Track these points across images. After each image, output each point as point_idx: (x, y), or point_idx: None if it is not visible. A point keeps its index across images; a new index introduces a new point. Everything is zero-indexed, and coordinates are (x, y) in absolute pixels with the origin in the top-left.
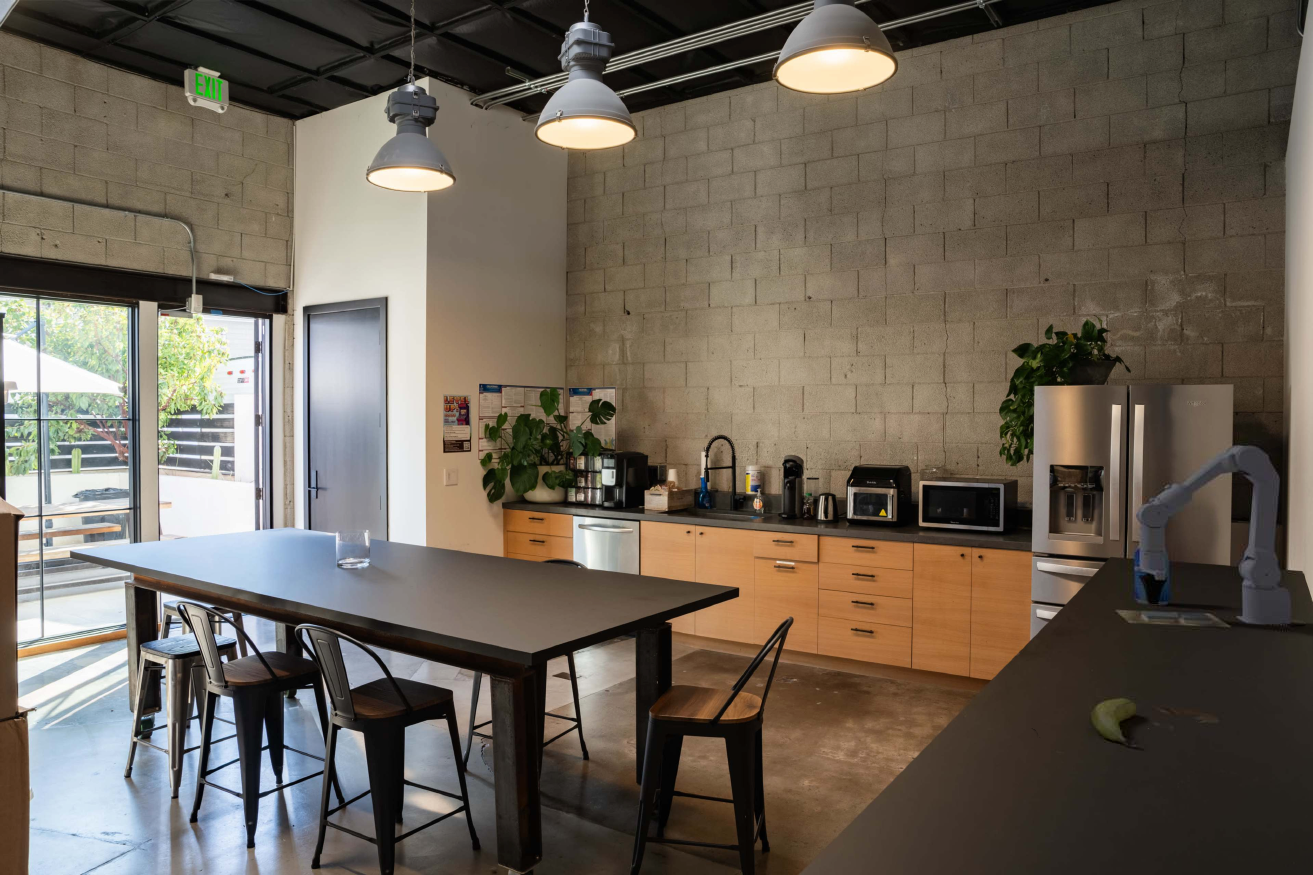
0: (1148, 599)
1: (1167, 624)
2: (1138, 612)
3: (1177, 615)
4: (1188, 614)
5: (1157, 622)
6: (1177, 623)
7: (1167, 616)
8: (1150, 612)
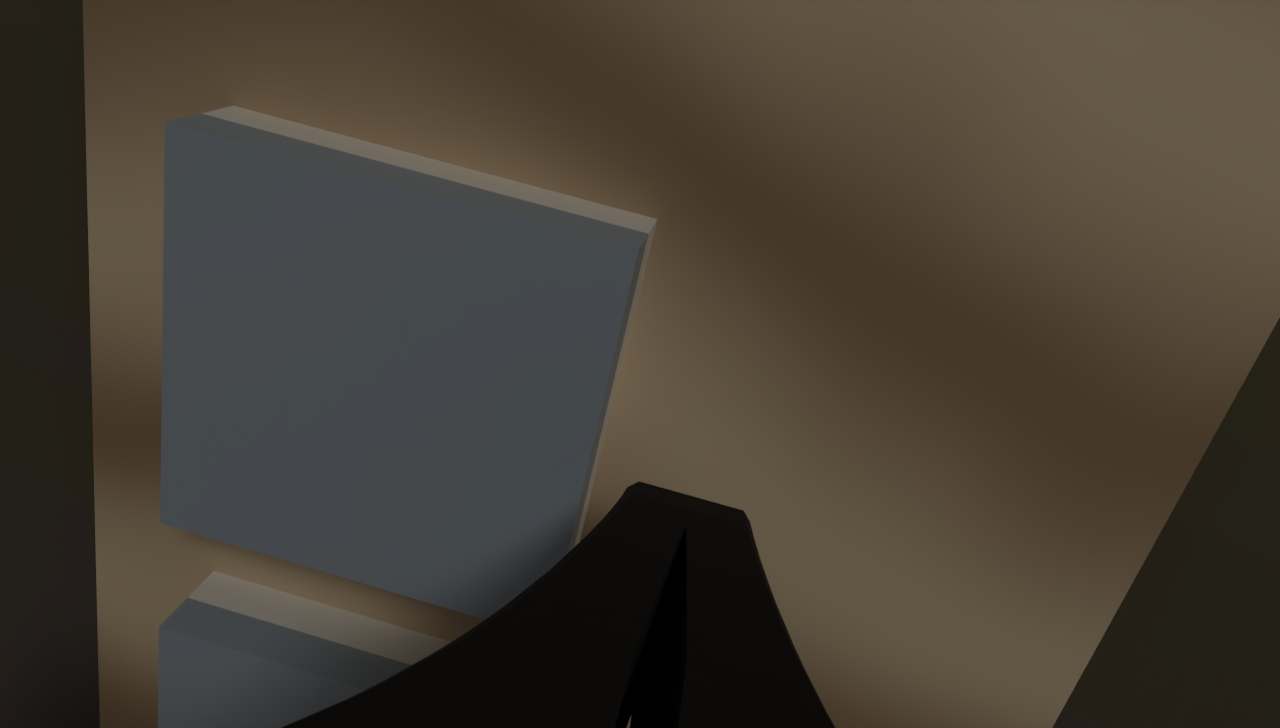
0: (612, 516)
1: (94, 313)
2: (1055, 367)
3: None
4: None
5: None
6: None
7: (161, 427)
8: (480, 335)
